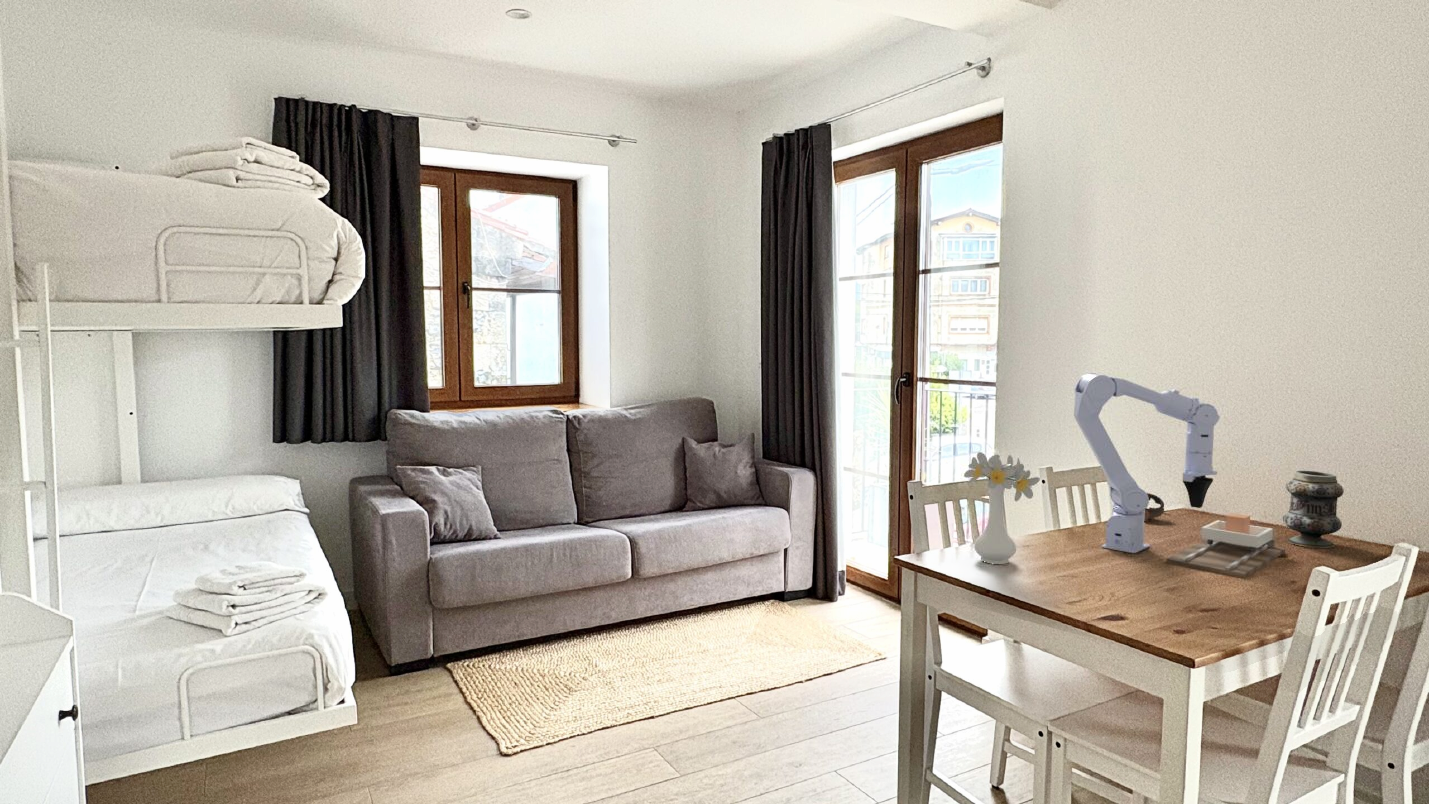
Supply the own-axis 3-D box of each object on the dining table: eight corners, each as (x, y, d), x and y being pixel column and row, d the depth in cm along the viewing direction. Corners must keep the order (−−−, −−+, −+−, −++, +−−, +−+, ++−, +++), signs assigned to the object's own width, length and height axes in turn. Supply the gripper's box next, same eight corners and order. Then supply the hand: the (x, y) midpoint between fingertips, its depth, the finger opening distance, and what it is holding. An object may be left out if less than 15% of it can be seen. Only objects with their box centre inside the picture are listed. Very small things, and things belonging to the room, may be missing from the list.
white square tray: (1257, 554, 196) (1258, 536, 196) (1200, 544, 205) (1201, 527, 204) (1271, 545, 203) (1272, 528, 203) (1216, 536, 212) (1217, 520, 212)
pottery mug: (1157, 516, 244) (1168, 495, 239) (1156, 537, 237) (1166, 516, 232) (1113, 503, 248) (1122, 482, 243) (1111, 523, 241) (1120, 502, 236)
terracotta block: (1243, 539, 201) (1244, 518, 201) (1224, 536, 204) (1225, 515, 204) (1249, 536, 204) (1250, 515, 203) (1230, 533, 207) (1231, 513, 206)
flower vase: (1014, 576, 186) (1017, 463, 184) (948, 557, 201) (950, 453, 199) (1050, 566, 194) (1053, 458, 191) (983, 548, 209) (986, 448, 206)
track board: (1244, 578, 184) (1245, 564, 184) (1166, 563, 196) (1166, 550, 195) (1284, 552, 204) (1285, 540, 204) (1211, 540, 216) (1211, 528, 215)
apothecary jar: (1351, 547, 208) (1356, 474, 207) (1319, 552, 204) (1323, 478, 202) (1302, 535, 220) (1306, 467, 218) (1270, 540, 215) (1274, 470, 214)
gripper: (1206, 457, 198) (1203, 514, 199) (1227, 450, 207) (1224, 505, 209) (1174, 453, 203) (1171, 509, 204) (1196, 447, 213) (1193, 500, 214)
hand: (1196, 507), depth 207 cm, fingers closed
